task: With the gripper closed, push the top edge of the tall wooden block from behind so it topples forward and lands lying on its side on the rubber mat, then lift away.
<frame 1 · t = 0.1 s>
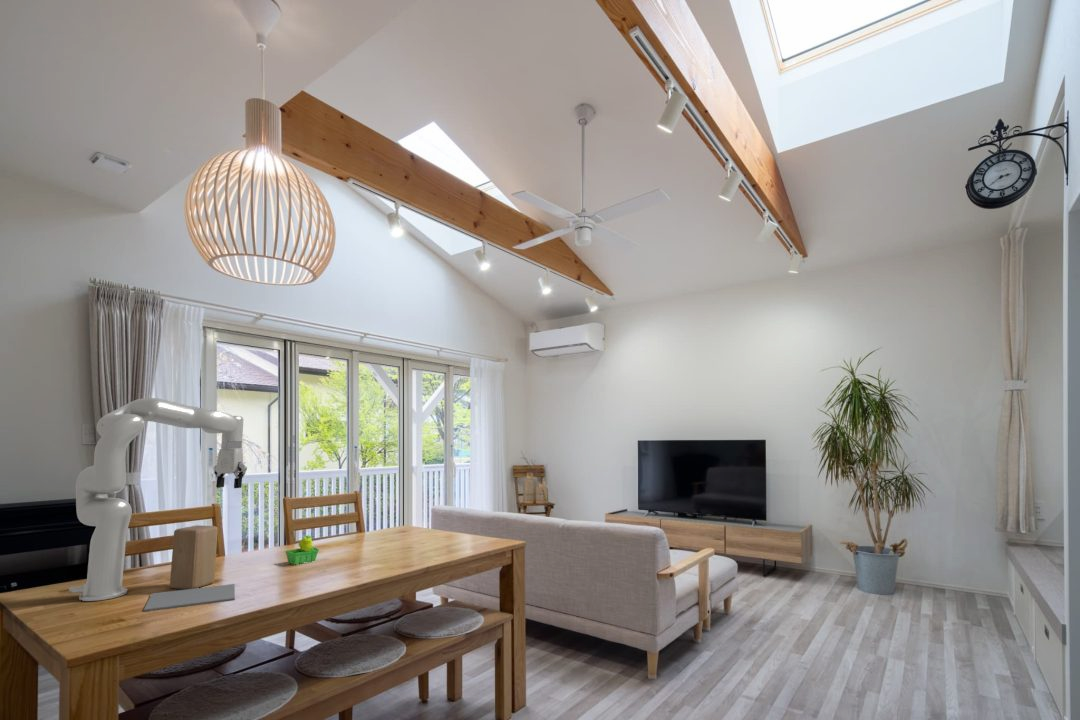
hand: (228, 487, 231), 31 cm above the table, tool pointing down, fingers open, 9 cm apart
wooden block: (192, 586, 197), on the table
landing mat: (192, 597, 183), on the table
fruit basket: (302, 563, 232), on the table
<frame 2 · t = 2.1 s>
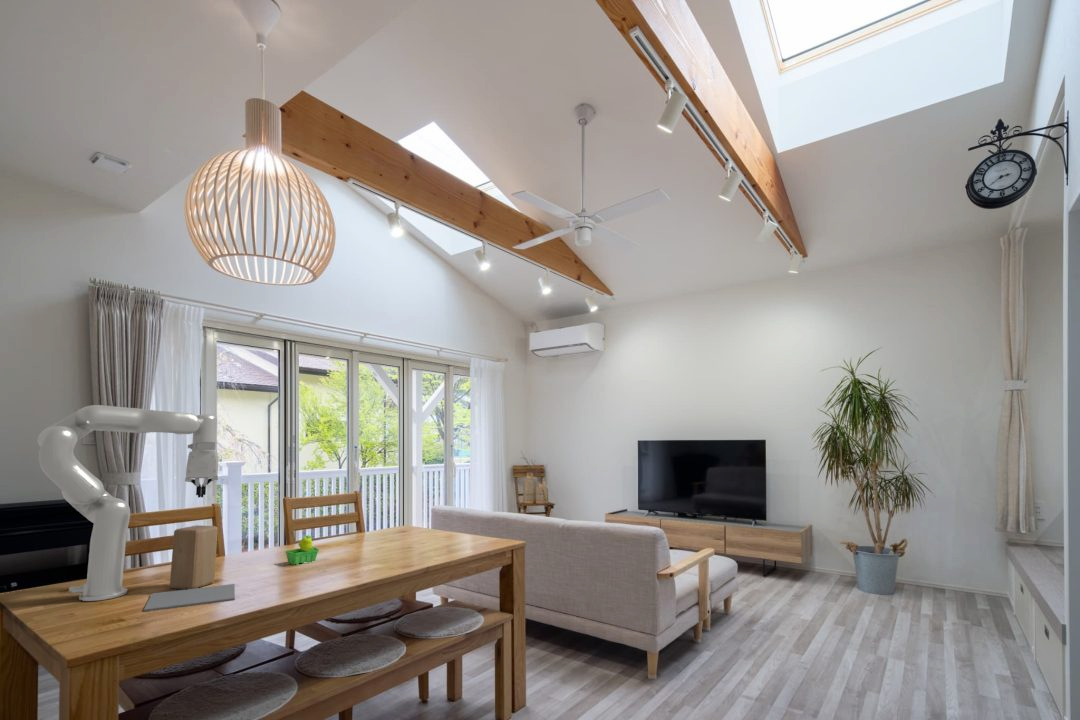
hand: (200, 497, 210), 30 cm above the table, tool pointing down, fingers closed
nothing on the table moved.
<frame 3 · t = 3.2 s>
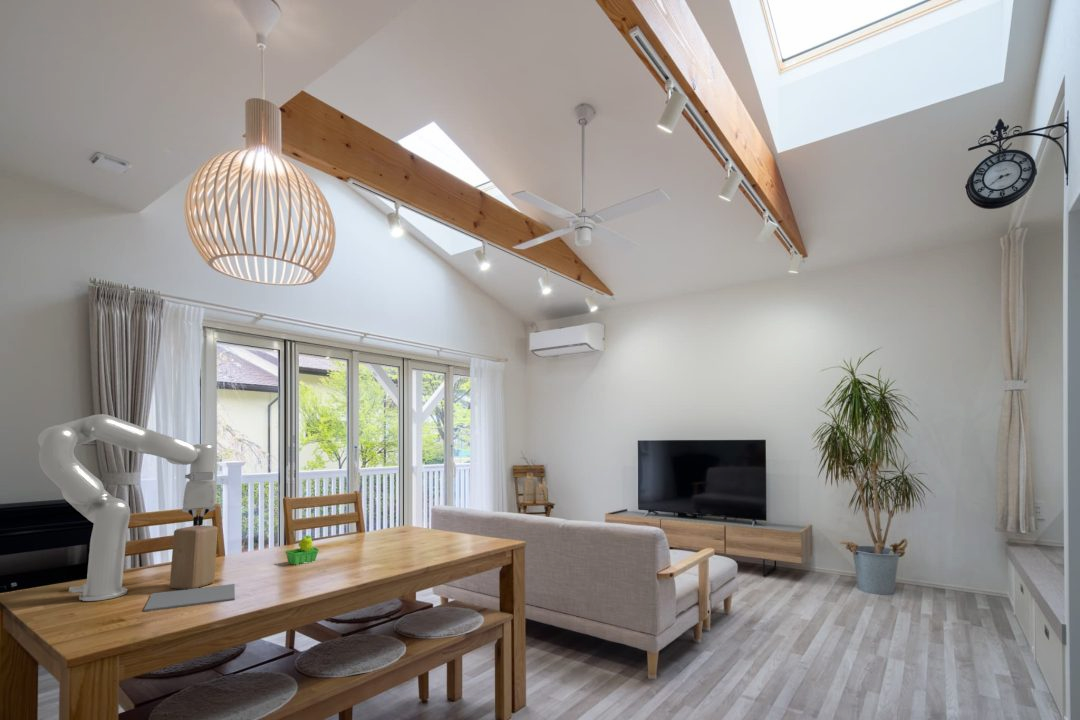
hand: (197, 527, 208), 19 cm above the table, tool pointing down, fingers closed
nothing on the table moved.
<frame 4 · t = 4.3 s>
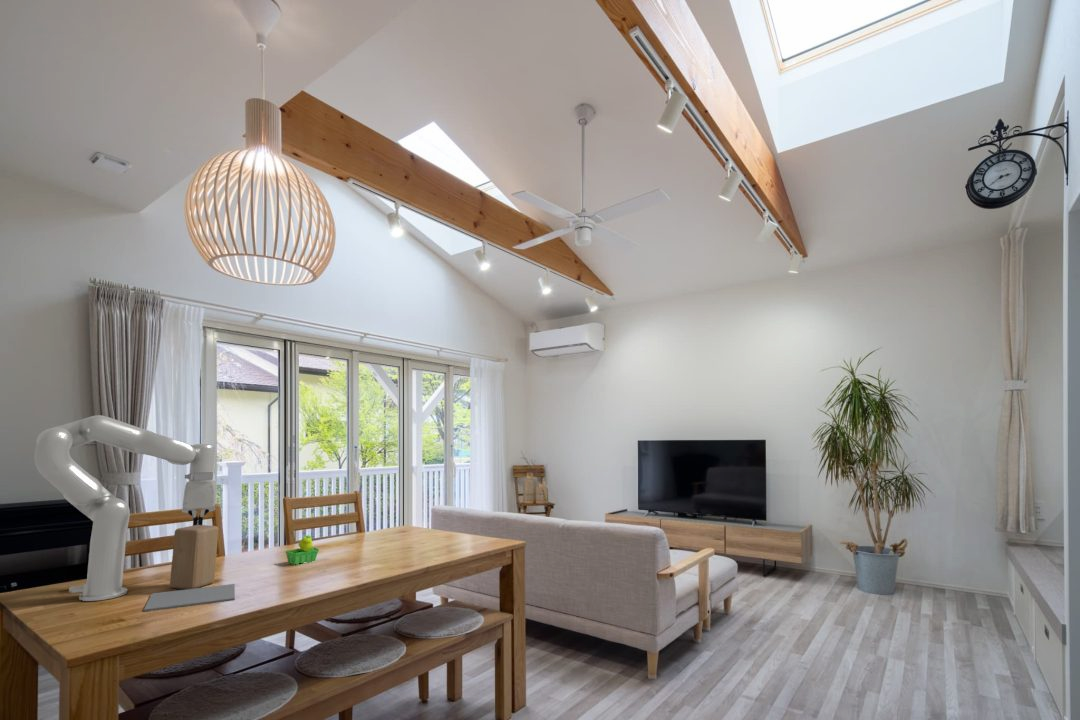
hand: (197, 528, 206), 19 cm above the table, tool pointing down, fingers closed
wooden block: (192, 586, 197), on the table, touching gripper
everything else where it was.
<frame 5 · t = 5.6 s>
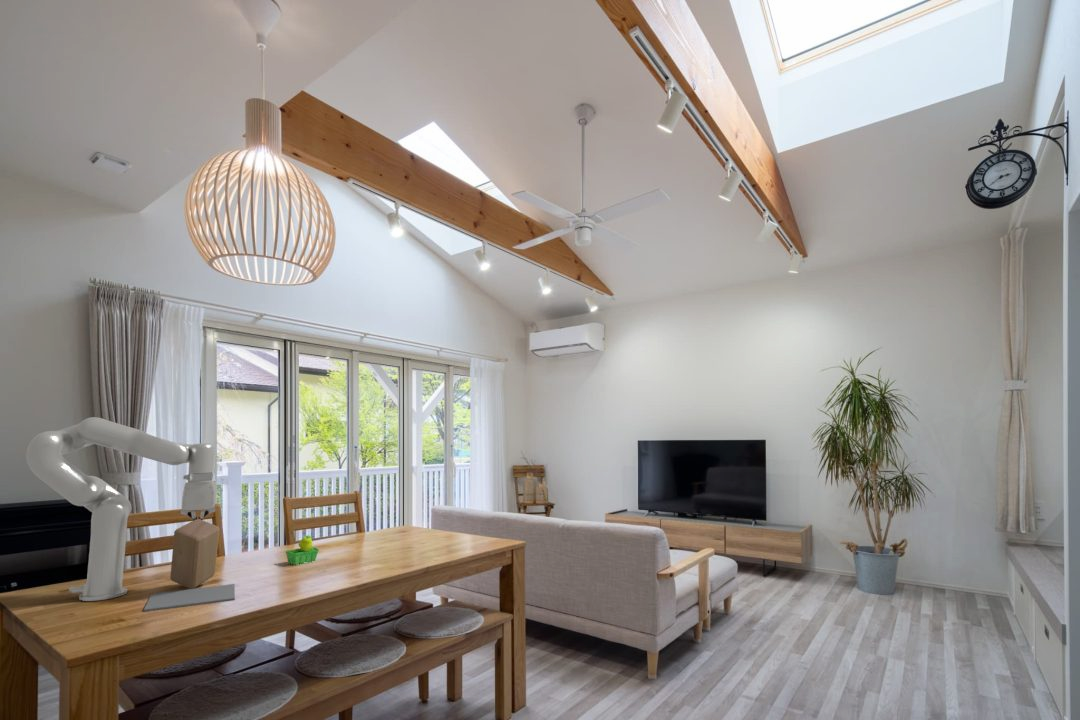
hand: (197, 530, 200), 19 cm above the table, tool pointing down, fingers closed
wooden block: (192, 578, 197), point 3 cm above the table, touching gripper
everything else where it was.
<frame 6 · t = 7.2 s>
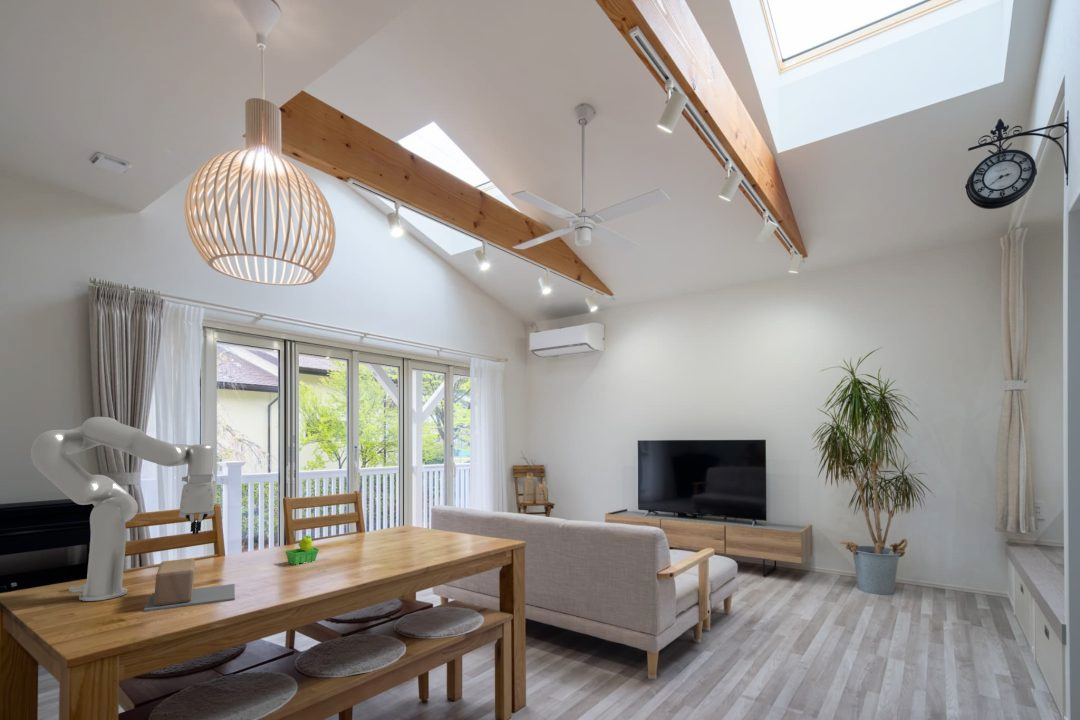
hand: (195, 533, 195), 19 cm above the table, tool pointing down, fingers closed
wooden block: (177, 574, 191), point 6 cm above the table, touching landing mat
everything else where it was.
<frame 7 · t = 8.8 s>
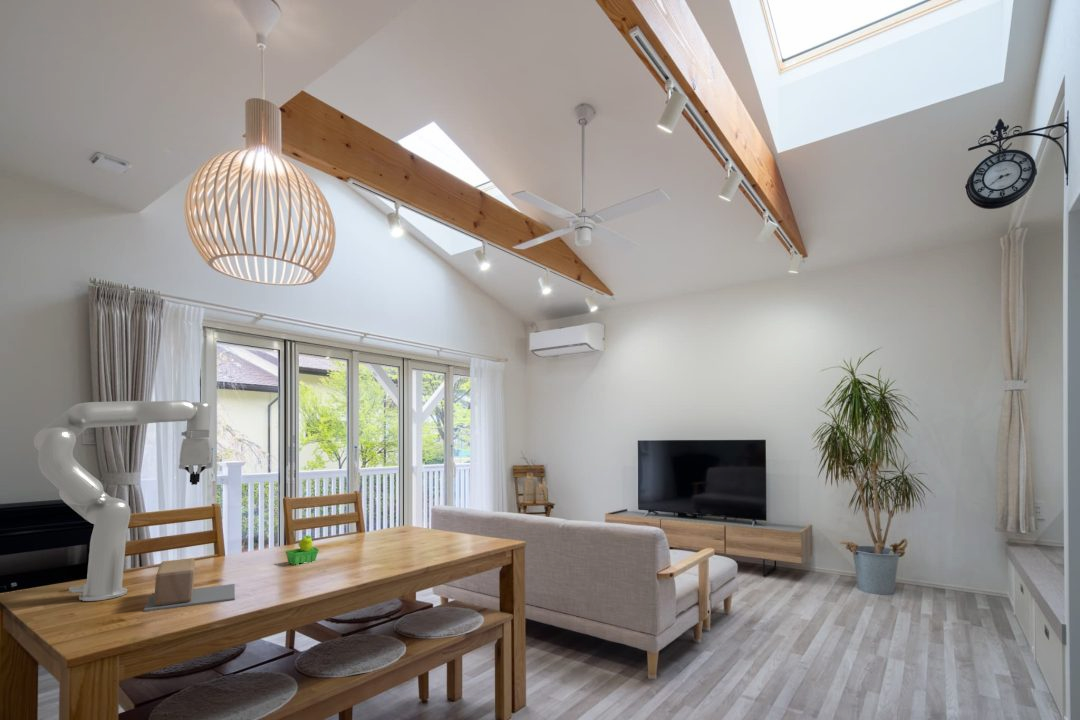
hand: (194, 484, 210), 34 cm above the table, tool pointing down, fingers closed
nothing on the table moved.
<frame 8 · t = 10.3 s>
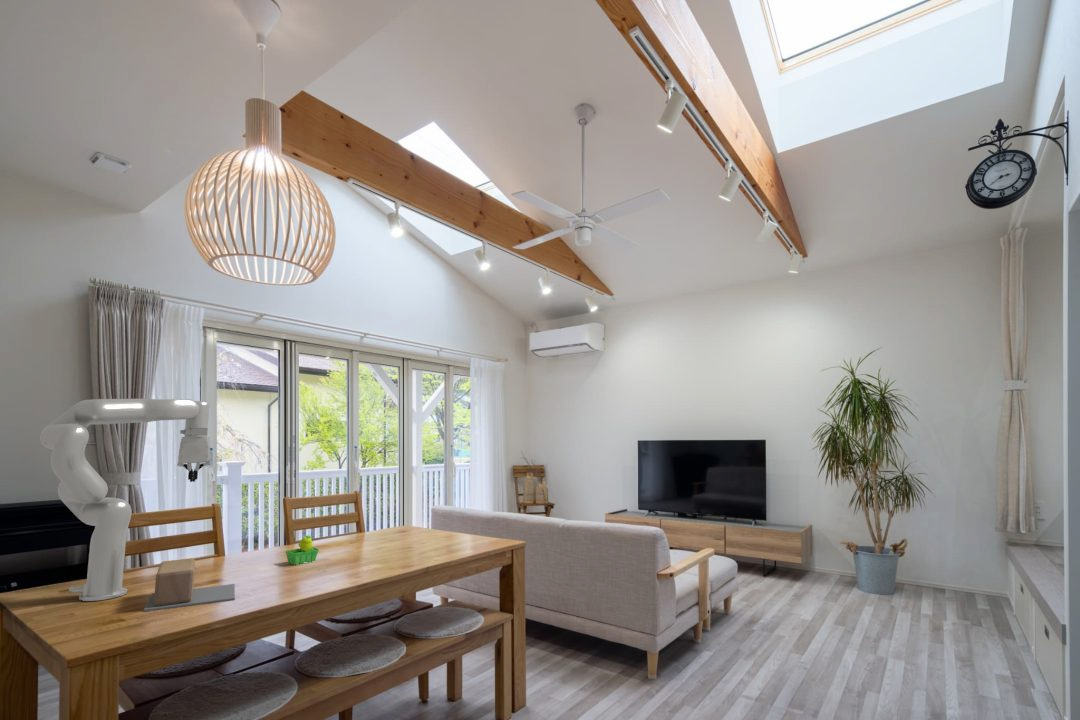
hand: (192, 481, 214), 35 cm above the table, tool pointing down, fingers closed
nothing on the table moved.
at the end: wooden block tilted 90°; wooden block touching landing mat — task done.
